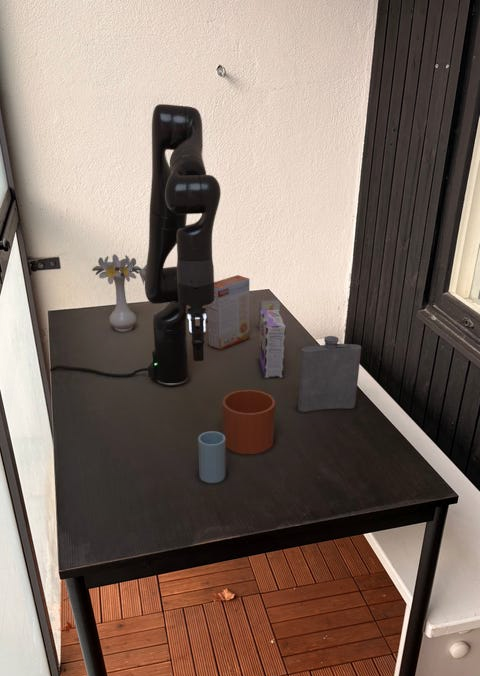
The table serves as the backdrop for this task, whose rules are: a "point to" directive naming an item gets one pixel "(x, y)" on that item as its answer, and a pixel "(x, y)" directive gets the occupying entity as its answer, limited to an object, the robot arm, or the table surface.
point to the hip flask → (328, 376)
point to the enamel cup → (212, 456)
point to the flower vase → (120, 288)
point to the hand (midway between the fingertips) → (197, 352)
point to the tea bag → (268, 306)
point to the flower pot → (248, 421)
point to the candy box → (272, 343)
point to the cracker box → (229, 312)
